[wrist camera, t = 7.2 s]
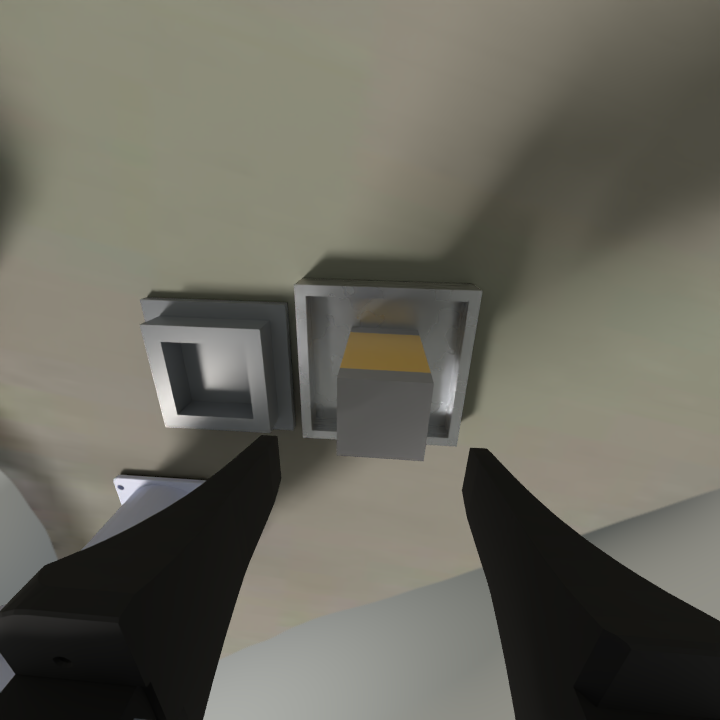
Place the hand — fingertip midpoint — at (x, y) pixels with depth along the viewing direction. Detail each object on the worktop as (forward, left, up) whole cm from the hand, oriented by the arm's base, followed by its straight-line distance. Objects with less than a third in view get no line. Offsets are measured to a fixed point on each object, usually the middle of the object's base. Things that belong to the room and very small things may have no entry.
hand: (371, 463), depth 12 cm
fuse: (0, 0, -9) cm, 9 cm away
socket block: (-1, +10, -10) cm, 14 cm away
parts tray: (0, 0, -10) cm, 10 cm away
